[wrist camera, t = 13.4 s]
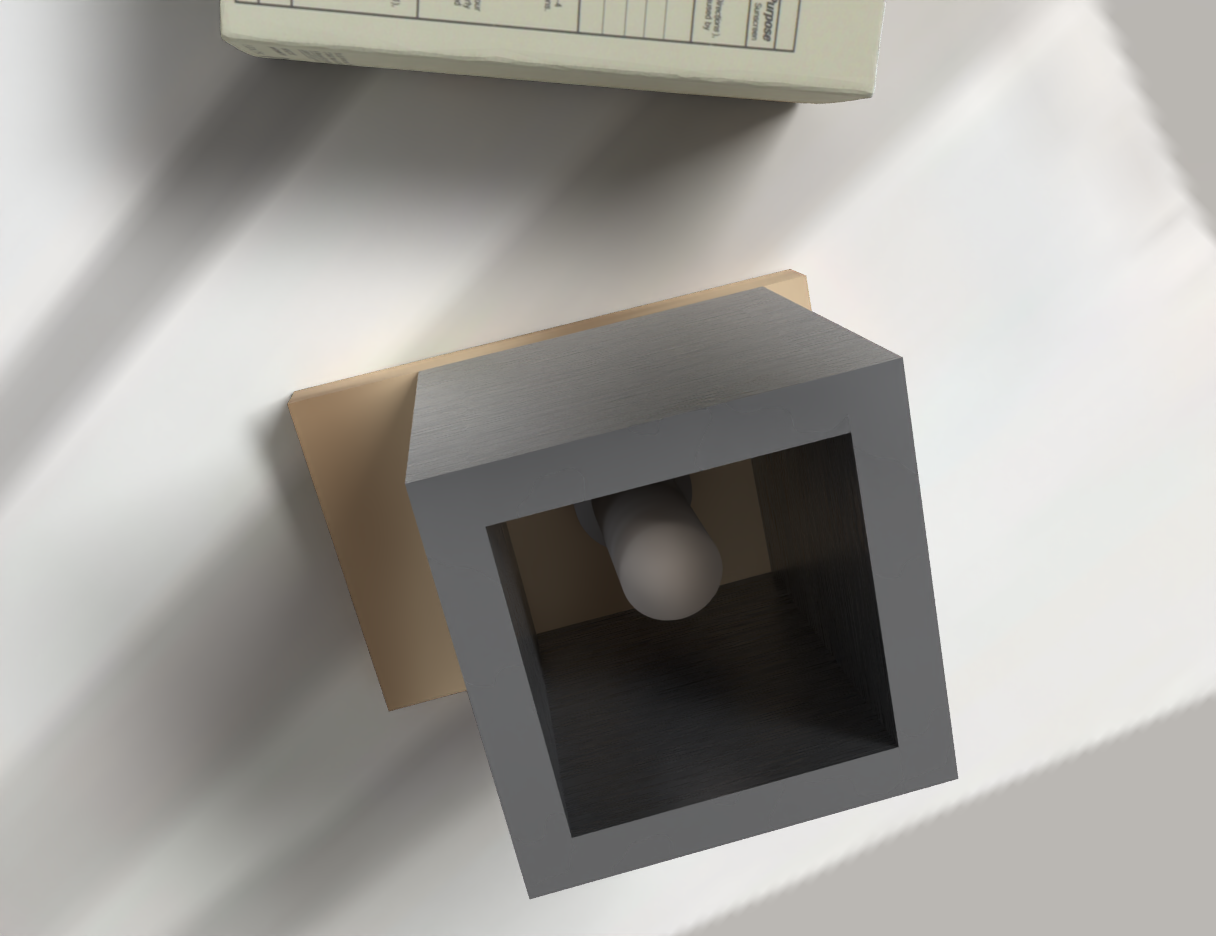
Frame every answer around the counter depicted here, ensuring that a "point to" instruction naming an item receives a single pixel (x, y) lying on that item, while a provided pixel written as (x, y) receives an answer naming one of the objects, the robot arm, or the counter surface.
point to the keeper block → (517, 521)
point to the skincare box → (586, 41)
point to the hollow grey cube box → (734, 618)
